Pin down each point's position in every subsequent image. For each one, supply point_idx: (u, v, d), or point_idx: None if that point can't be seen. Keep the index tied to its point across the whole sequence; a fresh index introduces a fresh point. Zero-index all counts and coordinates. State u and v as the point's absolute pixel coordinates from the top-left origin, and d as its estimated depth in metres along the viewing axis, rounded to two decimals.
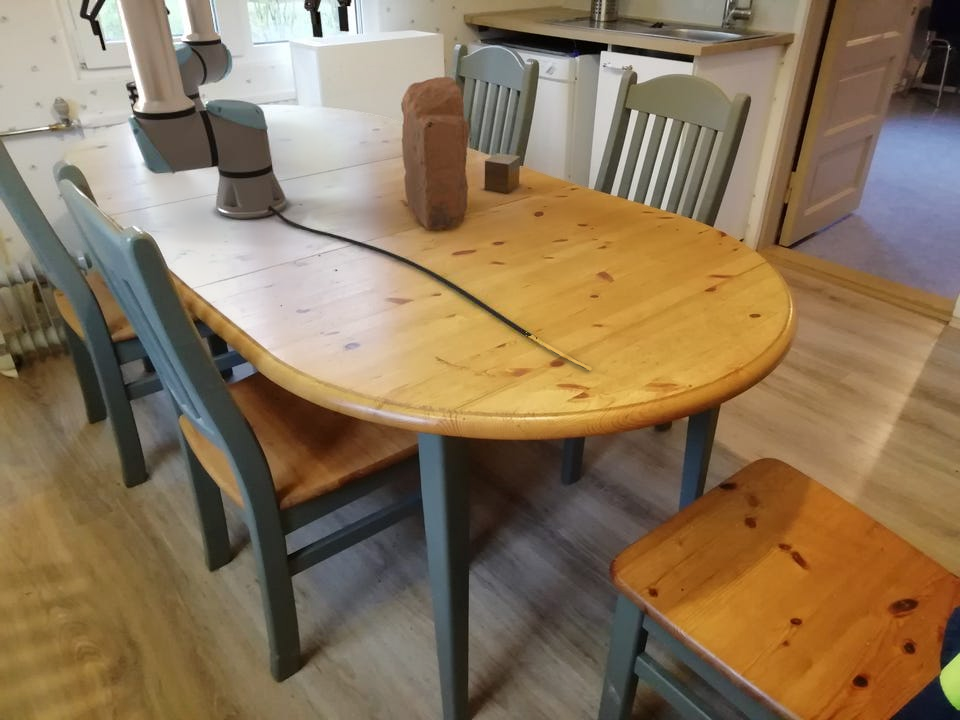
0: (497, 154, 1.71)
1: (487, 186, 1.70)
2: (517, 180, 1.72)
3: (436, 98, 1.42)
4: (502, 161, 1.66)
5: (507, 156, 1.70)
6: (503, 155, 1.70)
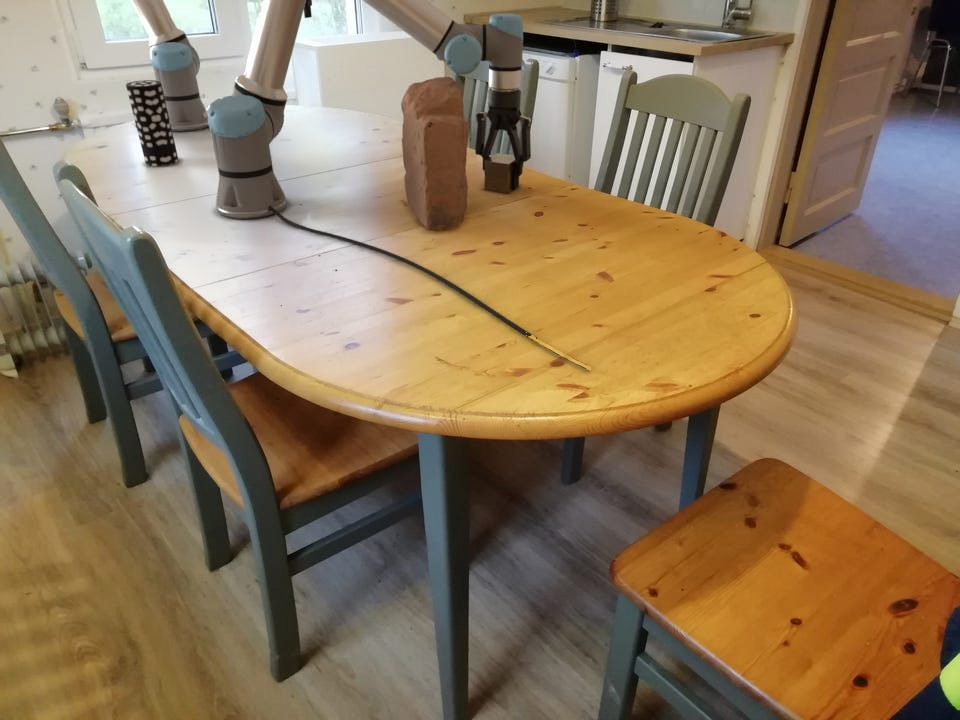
0: (497, 154, 1.71)
1: (487, 186, 1.70)
2: None
3: (436, 98, 1.42)
4: (502, 161, 1.66)
5: (507, 156, 1.70)
6: (503, 155, 1.70)
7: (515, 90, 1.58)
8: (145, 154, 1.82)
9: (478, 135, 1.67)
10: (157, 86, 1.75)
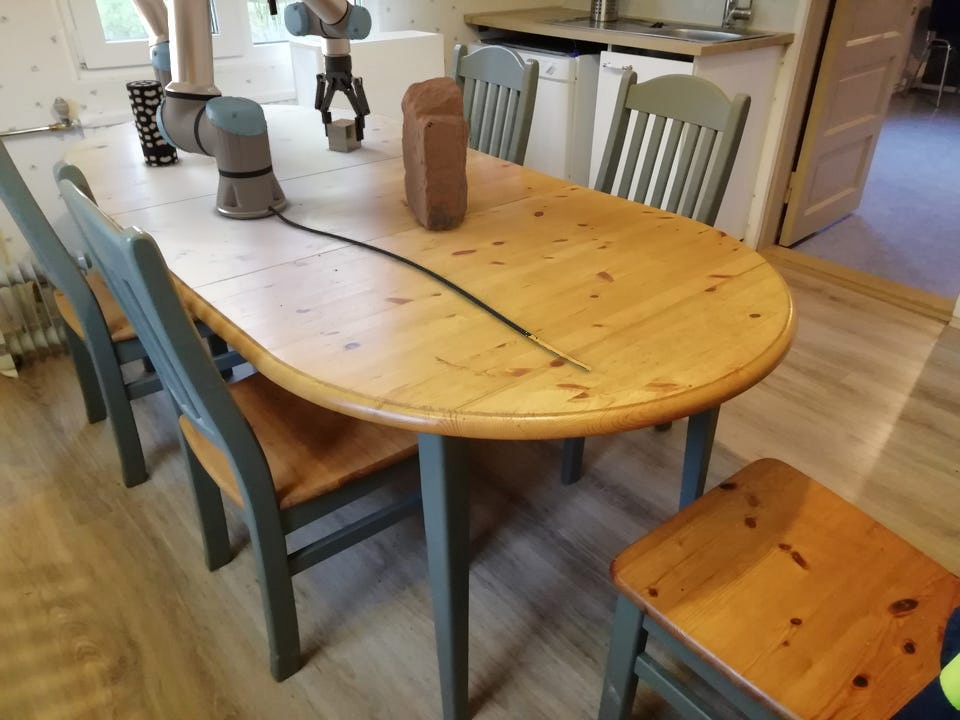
0: (340, 119, 1.99)
1: (331, 146, 1.97)
2: (359, 142, 2.00)
3: (436, 98, 1.42)
4: (341, 124, 1.94)
5: (348, 120, 1.97)
6: (345, 120, 1.98)
7: (344, 55, 1.85)
8: (145, 154, 1.82)
9: (317, 93, 1.94)
10: (157, 86, 1.75)
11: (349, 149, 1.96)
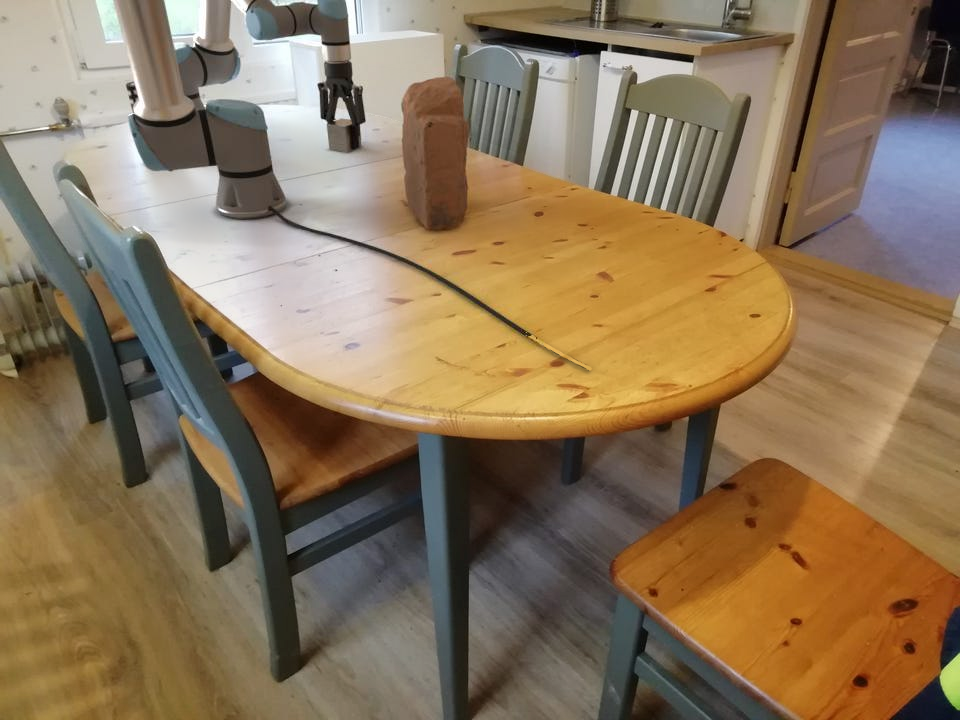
0: (340, 119, 1.99)
1: (331, 146, 1.97)
2: (359, 142, 2.00)
3: (436, 98, 1.42)
4: (341, 124, 1.94)
5: (348, 120, 1.97)
6: (345, 120, 1.98)
7: None
8: None
9: None
10: None
11: (349, 149, 1.96)
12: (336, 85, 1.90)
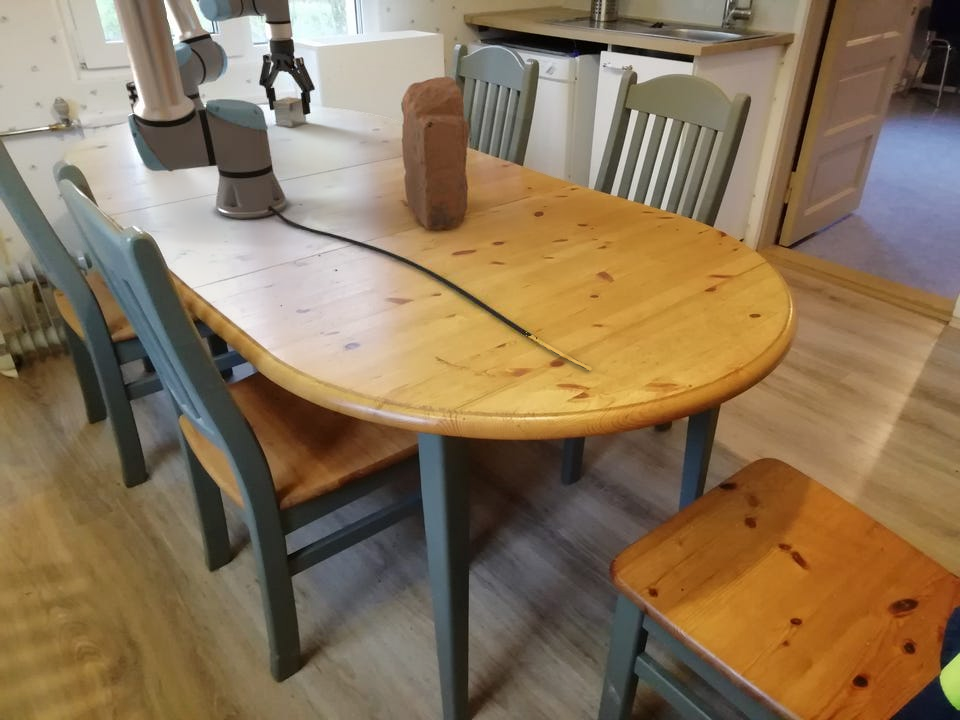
0: (287, 97, 2.22)
1: (278, 122, 2.20)
2: (303, 118, 2.23)
3: (436, 98, 1.42)
4: (286, 102, 2.16)
5: (293, 99, 2.20)
6: (291, 98, 2.21)
7: None
8: None
9: None
10: None
11: (294, 124, 2.19)
12: (280, 61, 2.12)
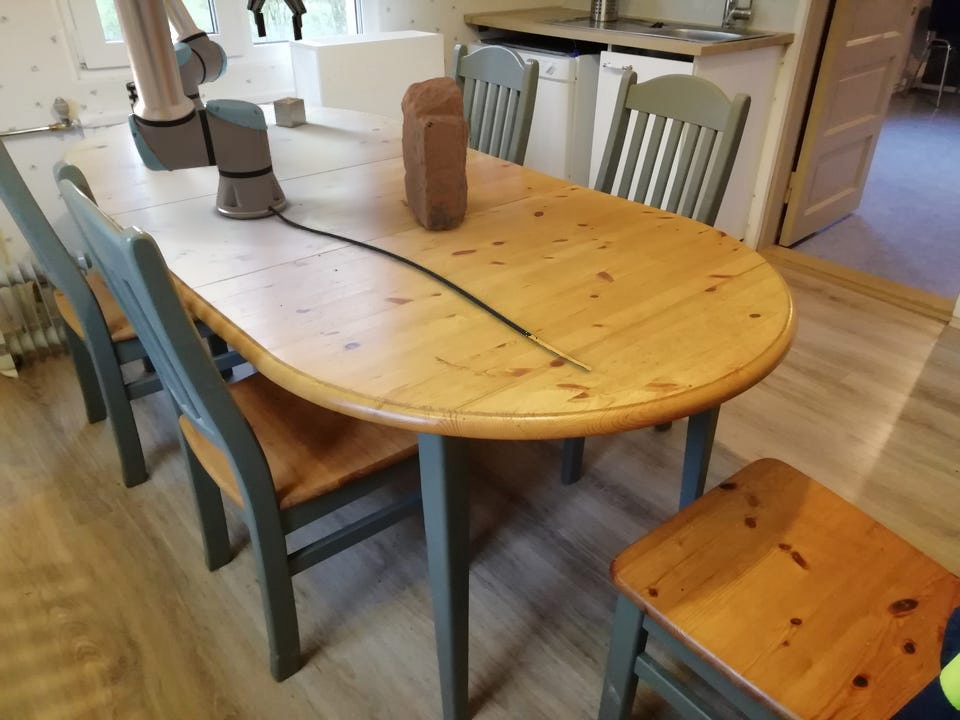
0: (287, 97, 2.22)
1: (278, 122, 2.20)
2: (303, 118, 2.23)
3: (436, 98, 1.42)
4: (286, 102, 2.16)
5: (293, 99, 2.20)
6: (291, 98, 2.21)
7: None
8: None
9: None
10: None
11: (294, 124, 2.19)
12: None
